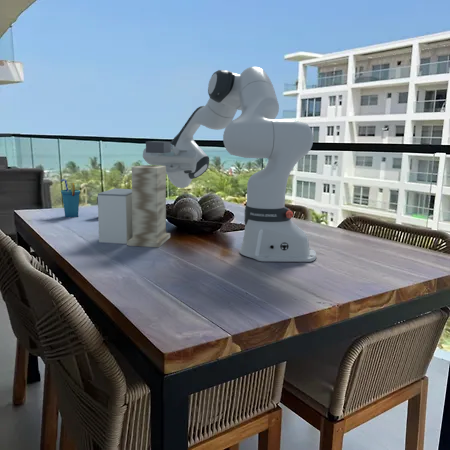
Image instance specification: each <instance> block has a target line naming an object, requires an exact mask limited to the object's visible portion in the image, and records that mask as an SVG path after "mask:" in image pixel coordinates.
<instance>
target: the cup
mask: <svg viewBox="0 0 450 450" xmlns="http://www.w3.org/2000/svg"><path fill="white" fill-rule="evenodd" d="M60 182H64V185H65V189H61V190H60V193H61V195H62V196H61V197H62V201H63V210H64V211H63V212H64V217H65V218H68V217H73V218H78V217H79V211H80V210H79V208H80V207H79V206H80V205H79V204H80V194H81V190H80V189H75V182H72V183H71V187H70V189H69V186H68V181H67V179H66V178H62V179H60Z"/></svg>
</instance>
